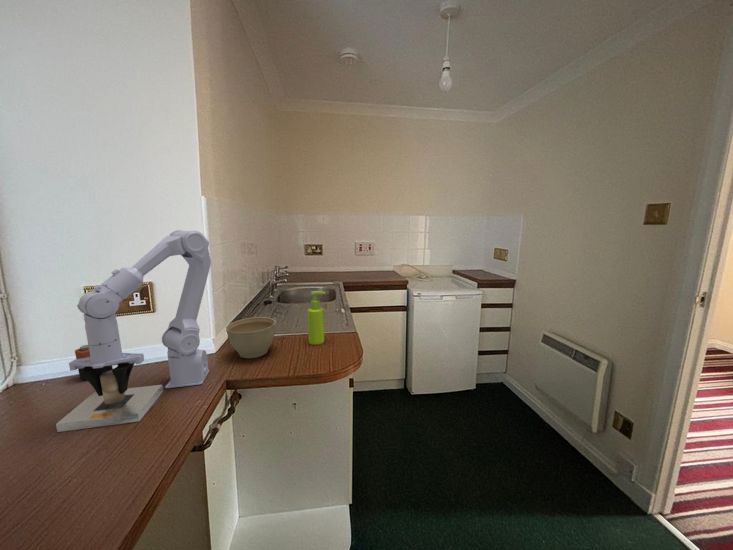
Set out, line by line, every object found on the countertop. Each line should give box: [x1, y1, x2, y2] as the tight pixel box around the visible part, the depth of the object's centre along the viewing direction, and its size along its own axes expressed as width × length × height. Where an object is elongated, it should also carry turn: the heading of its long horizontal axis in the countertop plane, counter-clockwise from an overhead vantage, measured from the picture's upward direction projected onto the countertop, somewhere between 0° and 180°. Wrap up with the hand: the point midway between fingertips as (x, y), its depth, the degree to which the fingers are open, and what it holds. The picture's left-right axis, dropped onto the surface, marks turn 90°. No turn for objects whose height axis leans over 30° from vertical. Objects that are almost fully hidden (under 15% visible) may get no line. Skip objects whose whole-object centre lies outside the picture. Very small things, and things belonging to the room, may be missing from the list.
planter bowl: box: [225, 316, 276, 359], centre depth 105 cm, size 16×16×11 cm
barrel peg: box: [100, 370, 125, 404], centre depth 73 cm, size 4×4×7 cm
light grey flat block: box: [55, 384, 164, 433], centre depth 74 cm, size 16×13×2 cm
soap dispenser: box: [307, 290, 326, 346], centre depth 114 cm, size 6×7×20 cm
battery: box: [74, 344, 114, 382], centre depth 91 cm, size 4×7×10 cm, turn 153°
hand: (113, 392), depth 74 cm, fingers closed on barrel peg, 4 cm apart
